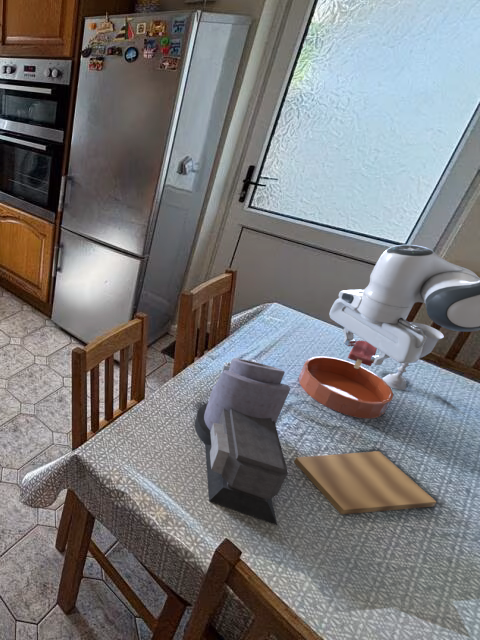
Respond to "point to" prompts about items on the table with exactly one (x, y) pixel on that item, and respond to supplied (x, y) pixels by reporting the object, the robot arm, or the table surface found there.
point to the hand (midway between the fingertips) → (361, 353)
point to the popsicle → (362, 353)
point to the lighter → (227, 365)
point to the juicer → (244, 438)
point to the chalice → (432, 338)
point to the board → (363, 482)
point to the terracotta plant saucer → (345, 387)
